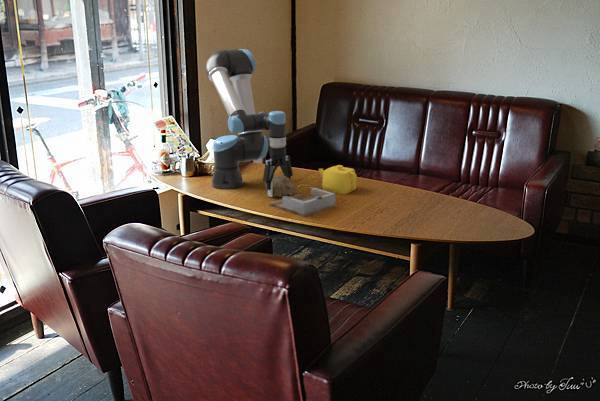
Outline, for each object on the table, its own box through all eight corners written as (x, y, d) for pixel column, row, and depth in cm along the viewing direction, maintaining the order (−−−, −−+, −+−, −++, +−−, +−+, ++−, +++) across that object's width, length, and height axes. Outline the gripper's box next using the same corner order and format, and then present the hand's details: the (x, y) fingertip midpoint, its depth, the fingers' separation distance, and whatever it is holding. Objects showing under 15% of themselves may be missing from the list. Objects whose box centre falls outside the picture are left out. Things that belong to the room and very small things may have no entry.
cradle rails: (282, 207, 275) (282, 195, 273) (313, 197, 288) (313, 186, 286) (305, 214, 266) (305, 202, 264) (336, 204, 278) (336, 192, 277)
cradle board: (268, 205, 282) (268, 202, 281) (299, 196, 294) (299, 193, 294) (304, 217, 267) (304, 214, 266) (335, 206, 279) (335, 204, 279)
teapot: (312, 189, 304) (312, 165, 301) (325, 183, 314) (326, 159, 311) (349, 196, 294) (350, 171, 290) (362, 189, 304) (363, 165, 300)
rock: (277, 188, 285) (288, 172, 289) (256, 185, 292) (268, 170, 297) (287, 205, 291) (298, 189, 296) (267, 202, 299) (278, 187, 304)
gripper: (264, 151, 279) (265, 200, 286) (300, 143, 293) (300, 190, 300) (253, 148, 284) (254, 197, 291) (289, 141, 298) (289, 187, 305)
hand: (278, 194), depth 295 cm, fingers closed on rock, 9 cm apart
